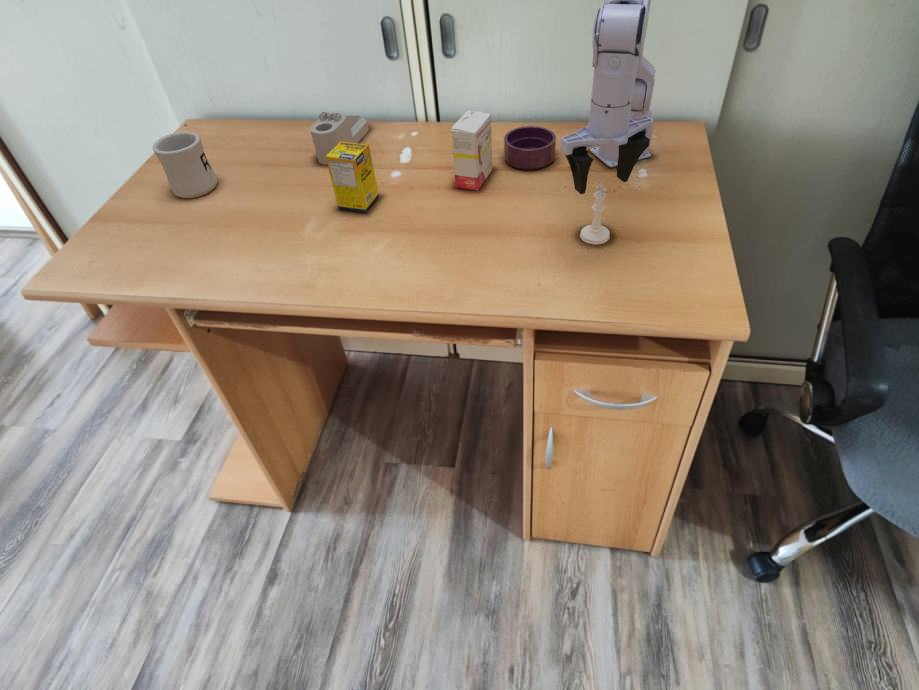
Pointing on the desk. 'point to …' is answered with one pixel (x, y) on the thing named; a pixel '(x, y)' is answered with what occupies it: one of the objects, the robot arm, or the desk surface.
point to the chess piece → (596, 221)
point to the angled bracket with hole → (336, 132)
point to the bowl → (529, 147)
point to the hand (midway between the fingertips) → (601, 185)
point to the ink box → (472, 149)
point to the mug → (185, 164)
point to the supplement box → (352, 176)
